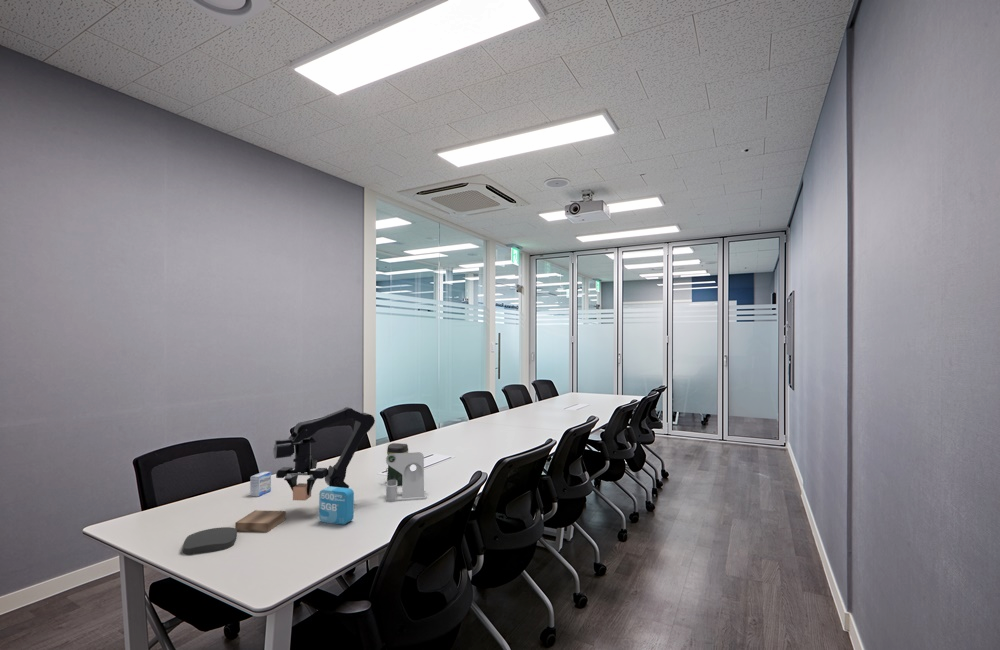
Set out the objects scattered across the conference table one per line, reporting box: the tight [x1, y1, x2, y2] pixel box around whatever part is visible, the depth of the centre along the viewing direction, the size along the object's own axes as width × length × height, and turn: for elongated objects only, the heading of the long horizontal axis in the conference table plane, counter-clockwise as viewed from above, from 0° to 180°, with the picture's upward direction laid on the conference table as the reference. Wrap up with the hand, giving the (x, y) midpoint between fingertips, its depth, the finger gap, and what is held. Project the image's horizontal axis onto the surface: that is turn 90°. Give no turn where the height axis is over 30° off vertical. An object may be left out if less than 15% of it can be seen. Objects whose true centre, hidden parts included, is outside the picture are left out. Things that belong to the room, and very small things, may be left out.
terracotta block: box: [292, 482, 312, 502], centre depth 184 cm, size 5×5×5 cm
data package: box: [318, 485, 355, 526], centre depth 175 cm, size 12×4×12 cm, turn 74°
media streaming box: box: [182, 526, 238, 556], centre depth 156 cm, size 15×15×3 cm
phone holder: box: [385, 451, 428, 503], centre depth 203 cm, size 17×10×18 cm, turn 102°
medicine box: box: [249, 471, 272, 497], centre depth 207 cm, size 8×4×9 cm, turn 168°
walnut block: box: [234, 509, 287, 533], centre depth 172 cm, size 12×12×3 cm
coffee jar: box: [386, 442, 409, 486], centre depth 223 cm, size 10×8×19 cm
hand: (302, 494), depth 184 cm, fingers closed on terracotta block, 5 cm apart
